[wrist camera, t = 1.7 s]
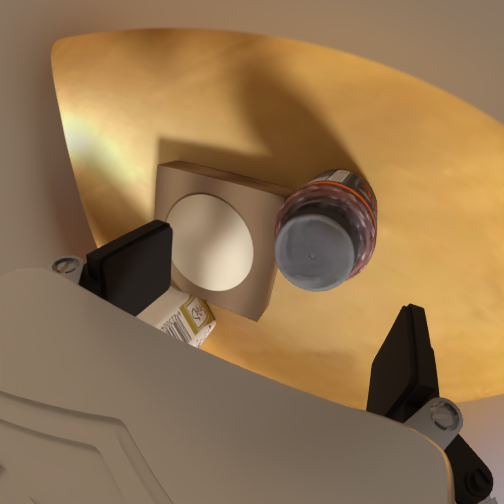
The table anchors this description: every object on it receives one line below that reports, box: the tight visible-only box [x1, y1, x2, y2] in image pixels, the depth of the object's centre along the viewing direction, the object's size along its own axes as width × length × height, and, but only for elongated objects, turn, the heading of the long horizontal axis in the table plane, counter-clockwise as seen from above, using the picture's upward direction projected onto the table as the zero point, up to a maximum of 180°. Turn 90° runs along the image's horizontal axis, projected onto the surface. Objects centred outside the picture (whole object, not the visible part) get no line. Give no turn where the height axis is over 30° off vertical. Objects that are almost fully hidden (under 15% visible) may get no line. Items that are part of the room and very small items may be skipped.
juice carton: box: [136, 285, 216, 348], centre depth 27 cm, size 8×9×19 cm
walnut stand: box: [154, 161, 295, 322], centre depth 28 cm, size 12×12×3 cm
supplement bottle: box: [274, 169, 377, 292], centre depth 19 cm, size 6×6×11 cm
